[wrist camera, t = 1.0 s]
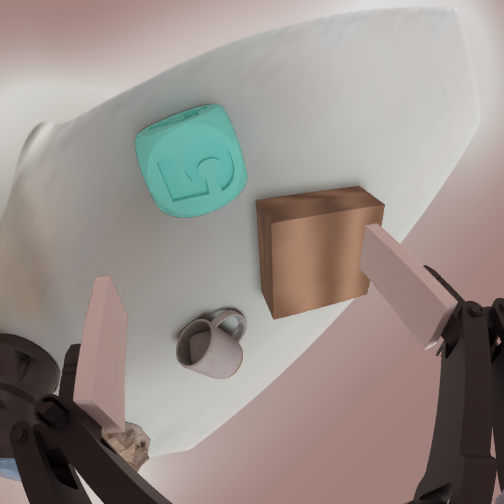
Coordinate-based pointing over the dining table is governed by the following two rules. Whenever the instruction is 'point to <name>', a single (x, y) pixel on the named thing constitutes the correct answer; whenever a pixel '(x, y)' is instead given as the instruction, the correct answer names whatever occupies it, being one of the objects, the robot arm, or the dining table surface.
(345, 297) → the walnut block
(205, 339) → the ceramic mug
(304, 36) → the dining table surface
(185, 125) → the decorative dice
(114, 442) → the ceramic cottage
